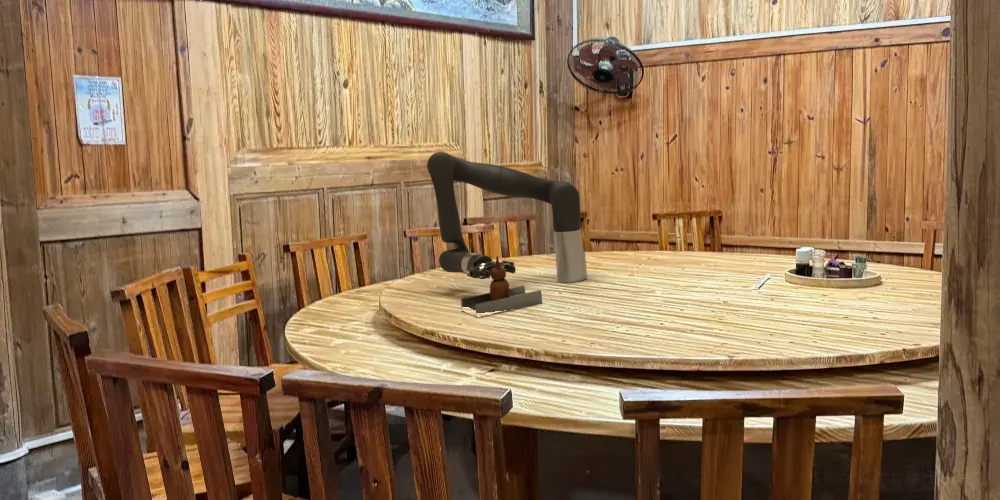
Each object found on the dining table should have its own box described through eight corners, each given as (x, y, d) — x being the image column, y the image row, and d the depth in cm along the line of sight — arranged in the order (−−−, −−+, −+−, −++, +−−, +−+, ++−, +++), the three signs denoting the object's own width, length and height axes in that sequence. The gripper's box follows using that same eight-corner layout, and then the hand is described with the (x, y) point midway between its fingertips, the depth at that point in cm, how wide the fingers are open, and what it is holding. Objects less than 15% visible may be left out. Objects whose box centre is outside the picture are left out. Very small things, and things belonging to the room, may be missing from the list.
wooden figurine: (508, 305, 251) (503, 256, 248) (489, 306, 252) (484, 257, 250) (512, 300, 257) (508, 252, 255) (494, 301, 259) (489, 253, 256)
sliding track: (524, 297, 265) (523, 285, 264) (542, 303, 255) (541, 290, 254) (461, 311, 255) (460, 298, 254) (478, 317, 245) (477, 304, 244)
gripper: (455, 257, 262) (479, 264, 247) (495, 250, 268) (521, 256, 254) (458, 281, 263) (481, 288, 249) (498, 273, 269) (523, 280, 255)
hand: (501, 272), depth 251 cm, fingers open, 8 cm apart
